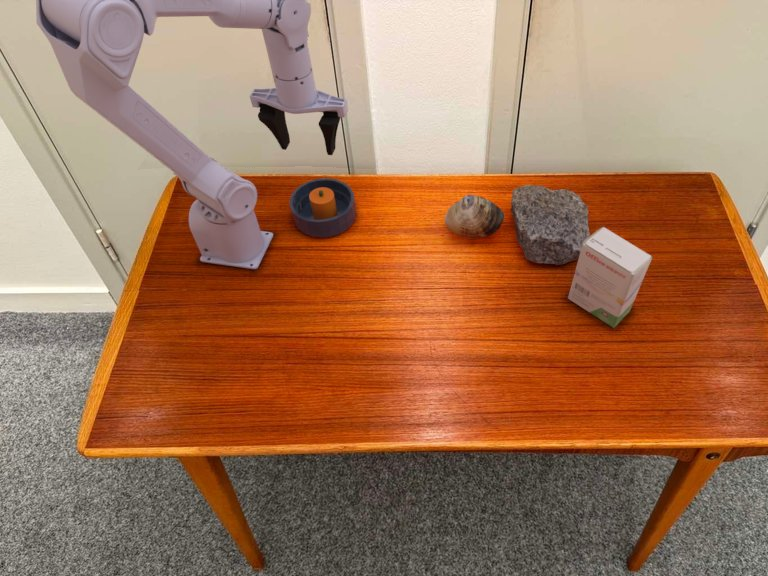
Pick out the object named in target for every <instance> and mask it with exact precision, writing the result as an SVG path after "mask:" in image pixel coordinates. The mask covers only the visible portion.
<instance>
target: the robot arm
mask: <svg viewBox="0 0 768 576" xmlns="http://www.w3.org/2000/svg"><path fill="white" fill-rule="evenodd" d="M35 2H36V3H35V9H36V11H35V13H36V14H35V15H36V25H37V27H39V29H40V31H41V32H42V33H43V34H44V36H45V37H46V39H47V40H48V42H49V44H50V46H51V48H52V50H53V53H54V55H55V57H56V60H57V62H58V64H59V66H60V69H61V72H62V74H63V76H64V78H65V80H66V83H67V86H68V88H69V90H70V91H71V92H72V94H73V95H74V96H75V97H76V98H78V99H79V100H80V101H82V103H84V104H85V105H86V106H88V107H89V108H91V109H92V111H94V112H95V113H97V114H98V115H99V116H101V117H102V118H103V119H105V121H107V122H109V123H110V124H111V125H112V126H113V127H115V128H116V129H117V130H119V131H120V132H121V133H122V134H124V135H125V136H126V137H128V138H129V139H130V140H131V141H133V142H134V143H135V144H137V145H138V146H139V147H141V148H142V149H143V150H144V151H145V152H147V153H148V154H149V155H151V156H152V157H153V158H154V159H156V160H157V161H158V162H160V163H161V164H162V165H163V166H164V167H166V168H168V170H170V171H171V172H172V174H173V175H174V176H176V178H178V179H179V180H180V182H181V185H182V188H183V190H184V192H186V194H188V195H189V196H192V197H194V198H196V199H195V200H194V201H193V202H192V204H191V206H190V208H189V213H188V226H189V230H190V233H191V234H192V235H191V236H192V237H193V238H194V242H195V243H196V246H197V248H198V250H199V253H200V254H201V256H200V257H199V260H200V262H201V263H207V264H213V265H221V266H226V267H227V266H228V267H234V268H241V269H247V270H258V268H259V266H260V264H261V263H262V261H263V258H264V256H265V255H266V252H267V250H268V249H269V246H270V244H271V242H272V240H273V238H274V233H273V232H271V231H264V230H261V227H260V224H259V222H258V218H257V216H256V212H255V207H256V204H257V201H258V190H257V187H256V186H255V184H254V183H253V182H251V181H250V180H249V179H245V178H243V177H242V176H239V174H237V173H235V172H233V171H232V170H230V169H228V168H227V167H225V166H223V165H222V164H220V163H219V162H218V161H217V160H215V159H214V158H213V157H211V156H209V155H208V154H206V152H204V150H202V149H201V148H200V147H198V145H197V144H195V143H194V142H193V141H192V140H191V139H190V138H189V137H187V136H186V135H185V134H184V133H183V132H182V131H181V130H179V129H178V128H177V127H176V126H175V125H174V124H173V123H172V122H170V121H169V120H168V119H167V118H166V117H164V115H163V114H162V113H160V112H159V111H158V110H157V109H156V108H155V107H153V106H152V105H151V104H150V103H149V102H148V101H147V100H146V99H144V98H143V96H141V95H140V94H138V93H137V92H136V91H135V90H134V89H133V88H132V87H131V86H130V85H129V84H130V81H131V78H132V74H133V72H134V69H135V67H136V64H137V63H136V62H137V60H138V57H139V54H140V51H141V47H142V45H143V40H144V36H145V35H148V36H149V37H150V36H152V35H153V34H154V31H155V27H156V22H157V19H158V18H170V17H171V18H172V17H178V18H179V17H208V18H209V20H210V21H211V22H212V23H213V24H214V25H215V26H217V27H219V28H223V29H224V28H225V29H226V28H227V29H248V30H249V29H251V30H261V32H262V36H263V40H264V45H265V49H266V53H267V58H268V61H269V65H270V69H271V75H272V78H273V83H274V86H275V87H274V88H273V87H270V88H253V89H252V91H251V93H250V95H249V99H250V103H251V106H252V108H257V109H259V112H258V114H257V117H258V118H257V119H258V120H259V121H260V122H261V123H262V124H263V125H264V126H266V128H267V129H268V130H269V131H270V132H271V133H272V135H273V136H274V138H275V139H276V142H277V143H278V144H279V146H280V148H281V150H284V151H286V150H287V149H288V147H289V145H290V144H291V139H290V133H289V128H288V126H287V120H286V113H287V114H293V115H301V114H310V113H312V114H313V113H322V115H321V117H320V120H319V121H318V127H319V129H320V131H321V133H322V135H323V139H324V146H325V151H326V155H327V156H333V155H334V152H335V150H336V142H337V141H336V140H337V134H338V133H337V132H338V127H339V124H340V120H341V118H346V115H347V114H348V112H349V107H348V99H347V98H342V97H338V96H335V95H332V94H329V93H326V92H324V91H321V90H319V89H317V88H316V87H317V86H316V83H315V82H316V81H315V75H314V70H313V65H312V59H311V55H310V48H309V44H308V37H309V28H308V26H309V22H310V18H311V15H312V5H311V3H310V2H308V1H307V0H35Z"/></svg>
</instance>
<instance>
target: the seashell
mask: <svg viewBox="0 0 768 576" xmlns="http://www.w3.org/2000/svg"><path fill="white" fill-rule="evenodd" d="M504 220H505V212H504V210H502V209H501V208H500V207H499V206H498V205H497V204H495V203H494V202H492V200H490V199H488V198H486V197H483V196H479V195H474V194H467V195H465V196H463V197H461V199H460V200H458V201H456V202H455V203H453V204H452V205H451V206H450V207H449V208H448V210H447V211H446V213H445V216H444V225H445V226H446V227H447V229H448V230H449V231H450V232H452V233H453V234H455V235H457V236H458V237H461V238H465V239H471V240H479V239H483V238H487V237H490V236H492V235H493V234H495V233H496V232H497V231H499V229H500V228H501V226H502V224H503V222H504Z"/></svg>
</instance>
